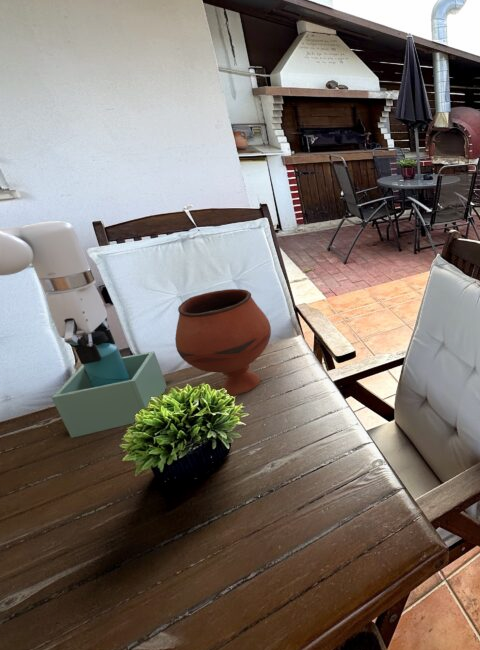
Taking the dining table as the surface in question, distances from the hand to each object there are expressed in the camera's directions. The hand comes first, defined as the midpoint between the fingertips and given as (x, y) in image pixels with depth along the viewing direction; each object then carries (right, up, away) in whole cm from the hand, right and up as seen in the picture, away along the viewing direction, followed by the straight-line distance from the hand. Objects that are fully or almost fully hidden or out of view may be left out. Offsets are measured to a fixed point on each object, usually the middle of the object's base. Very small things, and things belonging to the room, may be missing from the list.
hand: (99, 353), depth 90 cm
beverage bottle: (0, -14, +5) cm, 15 cm away
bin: (0, -15, +6) cm, 16 cm away
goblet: (+22, -12, +15) cm, 29 cm away
